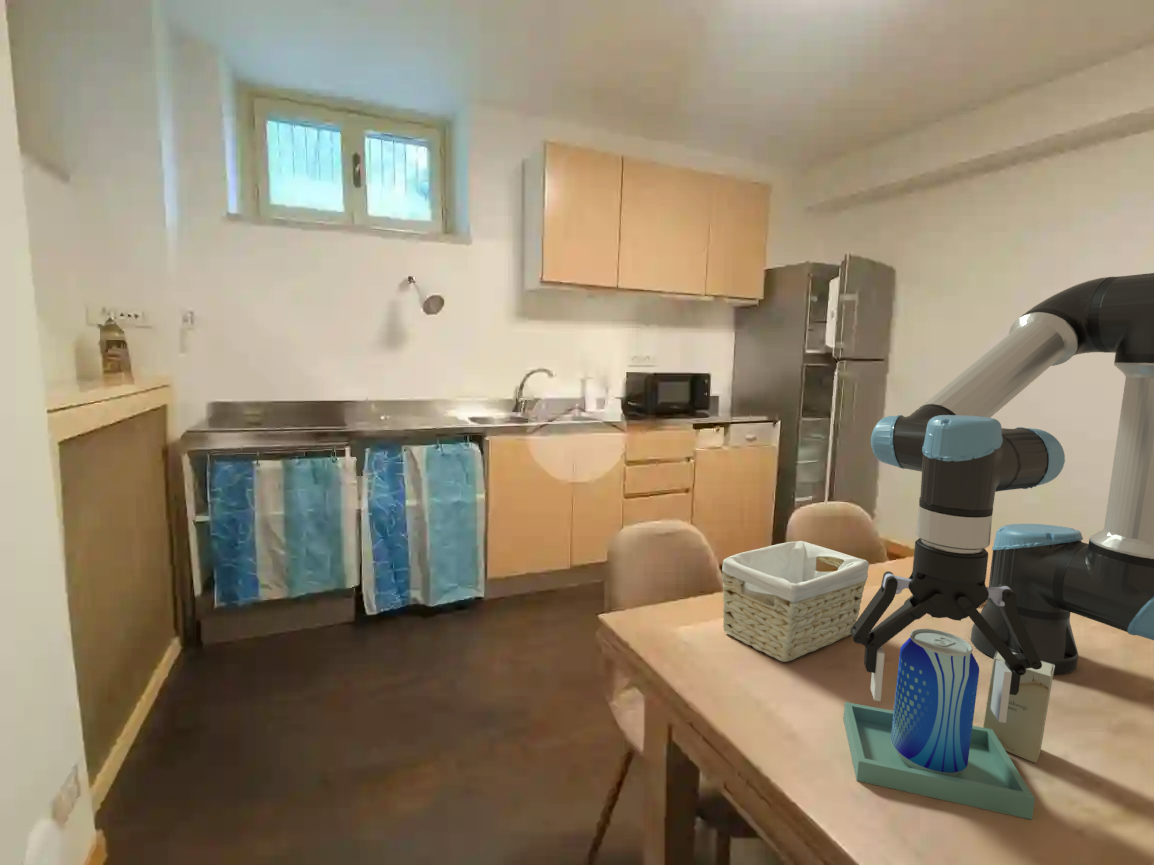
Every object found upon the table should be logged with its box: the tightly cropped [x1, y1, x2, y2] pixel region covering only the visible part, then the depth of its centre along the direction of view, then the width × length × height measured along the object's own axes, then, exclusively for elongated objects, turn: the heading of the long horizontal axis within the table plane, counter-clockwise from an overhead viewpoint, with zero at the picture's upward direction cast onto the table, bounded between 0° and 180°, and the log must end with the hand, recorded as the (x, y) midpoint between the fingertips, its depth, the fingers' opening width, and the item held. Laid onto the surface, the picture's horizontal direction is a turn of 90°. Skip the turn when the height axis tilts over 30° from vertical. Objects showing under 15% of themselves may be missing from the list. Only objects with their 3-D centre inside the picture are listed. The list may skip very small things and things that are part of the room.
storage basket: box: [721, 540, 870, 663], centre depth 108 cm, size 24×16×15 cm
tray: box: [842, 701, 1036, 821], centre depth 74 cm, size 18×13×3 cm
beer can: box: [891, 628, 980, 777], centre depth 73 cm, size 8×8×16 cm
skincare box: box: [982, 651, 1055, 764], centre depth 77 cm, size 6×4×12 cm
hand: (934, 705), depth 73 cm, fingers open, 13 cm apart
